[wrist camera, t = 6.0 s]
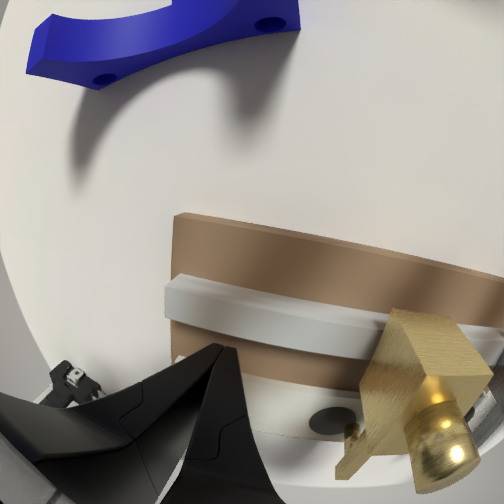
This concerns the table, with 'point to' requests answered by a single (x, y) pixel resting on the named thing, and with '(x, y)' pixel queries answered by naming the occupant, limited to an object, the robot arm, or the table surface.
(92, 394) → the push button
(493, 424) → the fixed leg
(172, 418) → the robot arm
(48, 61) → the cable clip
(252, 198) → the table surface
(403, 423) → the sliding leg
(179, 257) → the board
